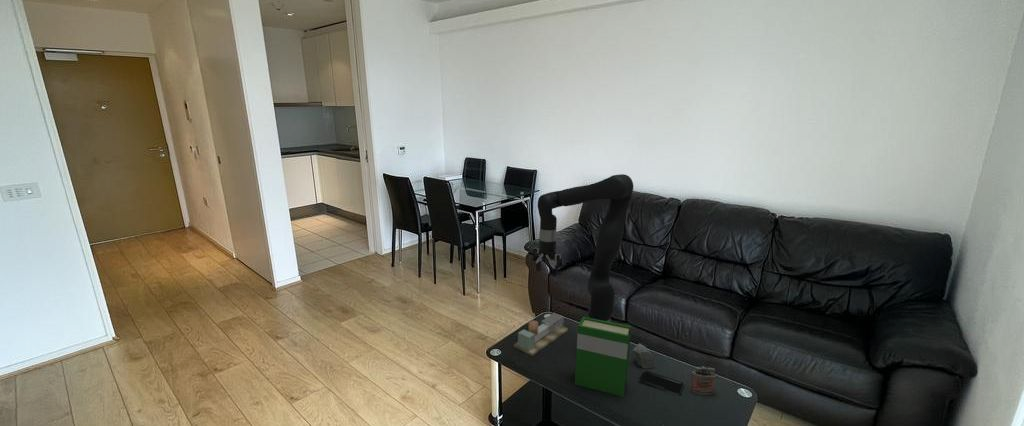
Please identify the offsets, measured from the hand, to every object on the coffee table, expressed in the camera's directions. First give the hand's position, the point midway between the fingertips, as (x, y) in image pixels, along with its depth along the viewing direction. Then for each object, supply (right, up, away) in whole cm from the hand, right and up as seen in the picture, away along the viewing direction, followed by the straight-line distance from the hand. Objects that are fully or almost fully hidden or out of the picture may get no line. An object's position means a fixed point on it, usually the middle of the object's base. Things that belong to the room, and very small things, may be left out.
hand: (546, 273), depth 187 cm
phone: (+40, -38, -29) cm, 62 cm away
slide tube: (-4, -28, -2) cm, 28 cm away
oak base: (-2, -29, +1) cm, 29 cm away
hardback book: (+18, -37, -30) cm, 51 cm away
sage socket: (-9, -30, -8) cm, 32 cm away
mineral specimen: (+37, -34, -18) cm, 53 cm away
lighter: (+54, -38, -33) cm, 74 cm away
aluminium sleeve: (+3, -26, +6) cm, 27 cm away
